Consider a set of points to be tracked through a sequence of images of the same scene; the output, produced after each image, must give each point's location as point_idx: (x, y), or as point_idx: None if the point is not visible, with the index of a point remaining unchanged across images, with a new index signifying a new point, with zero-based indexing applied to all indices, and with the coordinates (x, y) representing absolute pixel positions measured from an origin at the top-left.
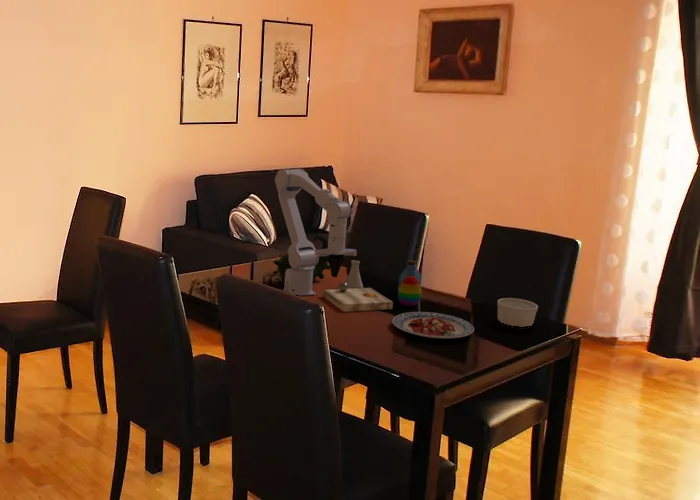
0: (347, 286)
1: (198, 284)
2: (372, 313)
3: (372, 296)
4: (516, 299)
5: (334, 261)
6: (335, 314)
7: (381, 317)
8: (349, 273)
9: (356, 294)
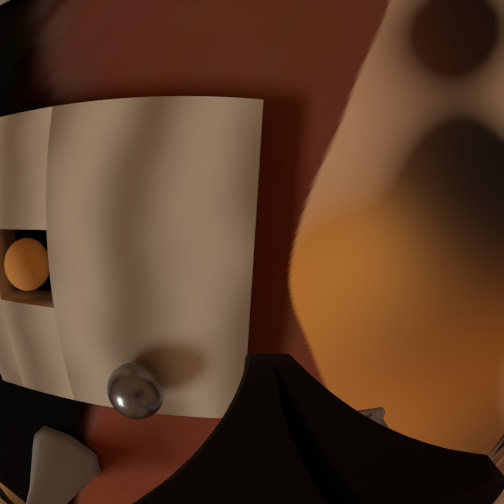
0: (112, 376)
1: None
2: (113, 59)
3: (13, 245)
4: None
5: (424, 465)
6: (327, 82)
7: (111, 3)
8: (69, 499)
9: (82, 301)
